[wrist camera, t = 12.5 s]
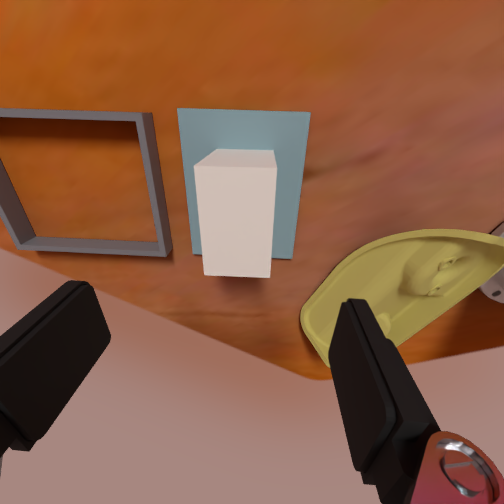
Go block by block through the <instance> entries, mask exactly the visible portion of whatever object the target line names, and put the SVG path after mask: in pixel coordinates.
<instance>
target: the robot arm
mask: <svg viewBox="0 0 504 504" xmlns="http://www.w3.org/2000/svg"><path fill="white" fill-rule="evenodd" d="M491 235H494V236H498V237H502V238H504V223H502V224H501V225H500V226H499V227H498V228H497V229H496V230H495V231H493V232H492V233H491ZM478 288H479V289H480V291H481V292H483V293H484V294H485V295H486V296H488V297H489V298H490V299H492V300H495V301H497V302H500V303H504V267H503V268H502V269H501V270H500V271H498V272H497V273H496V274H495V275H494V276H493V277H491V278H490V279H489V280H488V281H486V282H485V283H484V284H482V285H481V286H480V287H478ZM110 339H111V334H110V331H109V329H108V326H107V323H106V320H105V318H104V315H103V312H102V310H101V307H100V305H99V302H98V299H97V296H96V294H95V291H94V288H93V287H92V286H90V284H89V283H88V282H86V281H73V280H71V281H68V282H66V283H64V284H63V285H62V286H61V287H60V288H58V289H57V290H56V291H55V292H54V293H52V294H51V295H50V296H49V297H47V298H46V299H45V300H44V301H43V302H41V303H40V304H39V305H38V306H36V307H35V308H34V309H33V310H32V311H30V312H29V313H28V314H27V315H25V316H24V317H23V318H22V319H21V320H19V321H18V322H17V323H16V324H15V325H13V326H12V327H11V328H10V329H8V330H7V331H6V332H5V333H4V334H2V335H1V336H0V475H1V466H2V457H3V454H4V453H5V451H6V450H7V449H8V447H10V448H11V449H12V450H20V451H30V450H31V448H32V447H33V445H34V444H35V442H36V441H37V440H39V439H41V438H42V437H43V436H44V435H45V434H46V432H47V431H48V430H49V428H50V427H51V425H52V424H53V423H54V421H55V420H56V418H57V417H58V415H59V414H60V413H61V411H62V410H63V408H64V407H65V405H66V404H67V403H68V401H69V400H70V398H71V397H72V396H73V394H74V393H75V391H76V390H77V388H78V387H79V386H80V384H81V383H82V381H83V380H84V378H85V377H86V376H87V374H88V373H89V371H90V370H91V368H92V367H93V366H94V364H95V363H96V362H97V360H98V358H99V357H100V356H101V354H102V353H103V352H104V350H105V349H106V347H107V346H108V344H109V343H110ZM328 360H329V364H330V369H331V373H332V377H333V381H334V385H335V389H336V394H337V398H338V403H339V407H340V411H341V415H342V419H343V424H344V428H345V432H346V437H347V441H348V445H349V449H350V453H351V457H352V462H353V465H354V468H355V470H356V471H360V472H361V476H362V480H363V483H364V484H369V485H376V488H377V492H378V495H379V499H380V502H381V503H382V504H504V478H503V476H502V474H501V473H500V471H499V470H498V469H497V467H496V466H495V464H494V463H493V461H492V460H491V459H490V458H489V457H488V456H487V455H486V454H485V453H484V452H483V451H482V450H481V449H480V448H478V447H477V446H476V445H474V444H473V443H472V442H471V441H469V440H467V439H465V438H464V437H462V436H460V435H458V434H455V433H451V432H448V431H441V430H440V428H439V426H438V424H437V422H436V420H435V419H434V417H433V415H432V413H431V411H430V409H429V407H428V406H427V404H426V402H425V400H424V398H423V396H422V394H421V393H420V391H419V389H418V387H417V385H416V383H415V381H414V380H413V378H412V376H411V374H410V372H409V370H408V368H407V367H406V365H405V363H404V361H403V359H402V357H401V355H400V354H399V352H398V350H397V348H396V346H395V344H394V343H393V342H392V341H391V340H390V339H388V338H386V337H385V335H384V333H383V331H382V329H381V327H380V325H379V324H378V322H377V320H376V318H375V316H374V314H373V312H372V310H371V308H370V306H369V304H368V302H367V301H366V300H365V299H355V298H348V299H347V301H346V302H342V303H341V307H340V310H339V314H338V318H337V321H336V325H335V329H334V332H333V336H332V339H331V343H330V347H329V351H328Z"/></svg>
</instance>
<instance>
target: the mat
mask: <svg viewBox="0 0 504 504" xmlns="http://www.w3.org/2000/svg"><path fill="white" fill-rule="evenodd" d="M177 112H178V121H179V130H180V139H181V148H182V158H183V167H184V176H185V185H186V194H187V203H188V213H189V222H190V231H191V240H192V249H193V254H202V246H201V235H200V225H199V215H198V205H197V195H196V184H195V174H194V165H195V164H197V163H198V162H200V161H201V160H202V159H204V158H205V157H206V156H208V155H209V154H211V153H212V152H213V151H215V150H216V149H244V150H274V155H275V160H276V165H277V178H276V193H275V208H274V224H273V239H272V254H271V258H284V259H292V255H293V247H294V240H295V232H296V224H297V216H298V208H299V200H300V192H301V185H302V177H303V169H304V161H305V153H306V145H307V137H308V130H309V122H310V114H311V112H287V111H254V110H222V109H189V108H177Z"/></svg>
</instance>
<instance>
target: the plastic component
mask: <svg viewBox="0 0 504 504" xmlns="http://www.w3.org/2000/svg"><path fill="white" fill-rule="evenodd" d="M503 267H504V238H502V237H498V236H494V235H490V234H485V233H480V232H473V231H466V230H456V229H423V230H416V231H409V232H404V233H399V234H394V235H391V236H387V237H384V238H381V239H378V240H376V241H373V242H371V243H369V244H366V245H364V246H363V247H361V248H359V249H358V250H356V251H354V252H353V253H351V254H350V255H349V256H347V257H346V258H345V259H344V260H343V261H342V262H340V263H339V264H338V265H337V266H336V268H335V269H334V270H333V271H332V272H331V273H330V275H329V276H328V277H327V278H326V279H325V281H324V282H323V283H322V284H321V285H320V287H319V288H318V289H317V290H316V291H315V292H314V294H313V295H312V296H311V297H310V298H309V300H308V301H307V302H306V303H305V304H304V305H303V307H302V310H301V315H300V319H301V325H302V328H303V330H304V333H305V334H306V336H307V337H308V339H309V340H310V342H311V343H312V345H313V346H314V348H315V349H316V351H317V352H318V354H319V355H320V357H321V358H322V360H323V361H324V363H325V364H326V365H327V366H328V367H329V368H330V364H329V360H328V351H329V347H330V343H331V339H332V336H333V332H334V329H335V325H336V321H337V318H338V314H339V310H340V307H341V303H342V302H346V301H347V299H348V298H355V299H365V300H366V301H367V302H368V304H369V306H370V308H371V310H372V312H373V314H374V316H375V318H376V320H377V322H378V324H379V325H380V327H381V329H382V331H383V333H384V335H385V337H386V338H388V339H390V340H391V341H392V342H393V343H394V344H395V346H396V347H397V346H399V345H400V344H402V343H403V342H404V341H406V340H407V339H408V338H410V337H411V336H413V335H414V334H415V333H417V332H418V331H419V330H421V329H422V328H424V327H425V326H426V325H428V324H429V323H431V322H432V321H433V320H435V319H436V318H437V317H439V316H440V315H442V314H443V313H444V312H446V311H447V310H448V309H450V308H451V307H453V306H454V305H455V304H457V303H458V302H459V301H461V300H462V299H464V298H465V297H466V296H468V295H469V294H470V293H472V292H473V291H474V290H476V289H477V288H478V287H480V286H481V285H482V284H484V283H485V282H486V281H488V280H489V279H490V278H491V277H493V276H494V275H495V274H496V273H497V272H498V271H500V270H501V269H502V268H503Z"/></svg>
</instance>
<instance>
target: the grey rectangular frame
mask: <svg viewBox="0 0 504 504" xmlns="http://www.w3.org/2000/svg"><path fill="white" fill-rule="evenodd" d="M0 117H20V118H51V119H82V120H113V121H136V126H137V131H138V137H139V142H140V148H141V153H142V158H143V164H144V169H145V174H146V180H147V185H148V190H149V196H150V201H151V207H152V212H153V217H154V223H155V228H156V233H157V239H158V242H140V241H119V240H97V239H76V238H55V237H36V235H35V233H34V231H33V229H32V227H31V225H30V222H29V220H28V218H27V216H26V214H25V212H24V209H23V207H22V205H21V203H20V201H19V199H18V196H17V194H16V192H15V190H14V188H13V186H12V184H11V181H10V179H9V177H8V175H7V173H6V171H5V168H4V166H3V164H2V162H1V160H0V216H1V218H2V220H3V222H4V224H5V226H6V228H7V230H8V232H9V234H10V236H11V238H12V240H13V242H14V243H15V245H16V247H17V249H18V250H37V251H58V252H78V253H98V254H119V255H139V256H159V257H167V255H168V254H169V252H170V251H171V250H172V248H173V246H172V240H171V233H170V227H169V220H168V214H167V207H166V201H165V195H164V188H163V182H162V175H161V169H160V162H159V156H158V149H157V143H156V136H155V130H154V123H153V117H152V113H141V112H109V111H77V110H45V109H13V108H0Z"/></svg>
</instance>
